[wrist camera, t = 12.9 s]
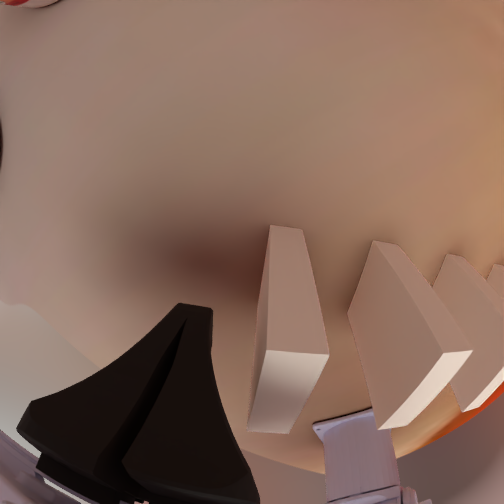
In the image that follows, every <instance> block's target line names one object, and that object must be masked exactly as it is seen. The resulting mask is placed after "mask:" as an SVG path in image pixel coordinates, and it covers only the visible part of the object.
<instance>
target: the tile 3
mask: <svg viewBox="0 0 504 504" xmlns="http://www.w3.org/2000/svg"><path fill="white" fill-rule="evenodd" d="M432 288H433V290H434V291H435V292H436V294H437V295H438V297H439V298H440V299H441V301H442V302H443V304H444V305H445V306H446V308H447V309H448V311H449V312H450V314H451V315H452V317H453V318H454V320H455V321H456V323H457V324H458V326H459V327H460V329H461V330H462V332H463V334H464V335H465V337H466V338H467V340H468V342H469V343H470V345H471V347H472V348H473V351H472V353H471V354H470V356H469V357H468V358H467V360H466V361H465V362H464V364H463V365H462V366H461V367H460V369H459V370H458V371H457V373H456V374H455V375H454V376H453V377H452V379H451V380H450V381H449V382H450V385H451V387H452V389H453V392H454V394H455V396H456V399H457V401H458V404H459V406H460V409H461V411H462V412H465V411H468V410H471V409H474V408H477V407H479V406H480V405H481V404H482V403H483V402H484V401H485V400H486V399H487V398H488V397H489V396H490V395H491V394H492V393H493V392H494V391H495V390H496V388H497V387H498V386H499V385H500V384H501V383H502V382H503V380H504V300H503V299H502V297H501V296H500V295H499V294H498V293H497V292H496V291H495V290H494V288H493V287H492V286H491V285H490V284H489V283H488V282H487V281H486V280H485V279H484V278H483V277H482V275H481V274H480V273H479V272H478V271H477V270H476V269H475V268H474V267H473V266H472V265H471V264H470V263H469V262H468V261H467V260H466V259H465V258H464V257H462V256H457V255H452V254H446V257H445V259H444V262H443V264H442V266H441V269H440V271H439V273H438V276H437V278H436V280H435V282H434V285H433V287H432Z"/></svg>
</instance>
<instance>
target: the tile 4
mask: <svg viewBox="0 0 504 504" xmlns="http://www.w3.org/2000/svg"><path fill="white" fill-rule="evenodd" d="M486 281H487V282H488V283H489V284H490V285H491V286H492V287H493V288H494V290H495V291H496V292H497V293H498V294H499V295H500V296H501V297H502V299H503V300H504V265H499V264H495V263H494V265H493V267H492V269H491V272H490V274H489V276H488V278H487V280H486Z"/></svg>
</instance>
